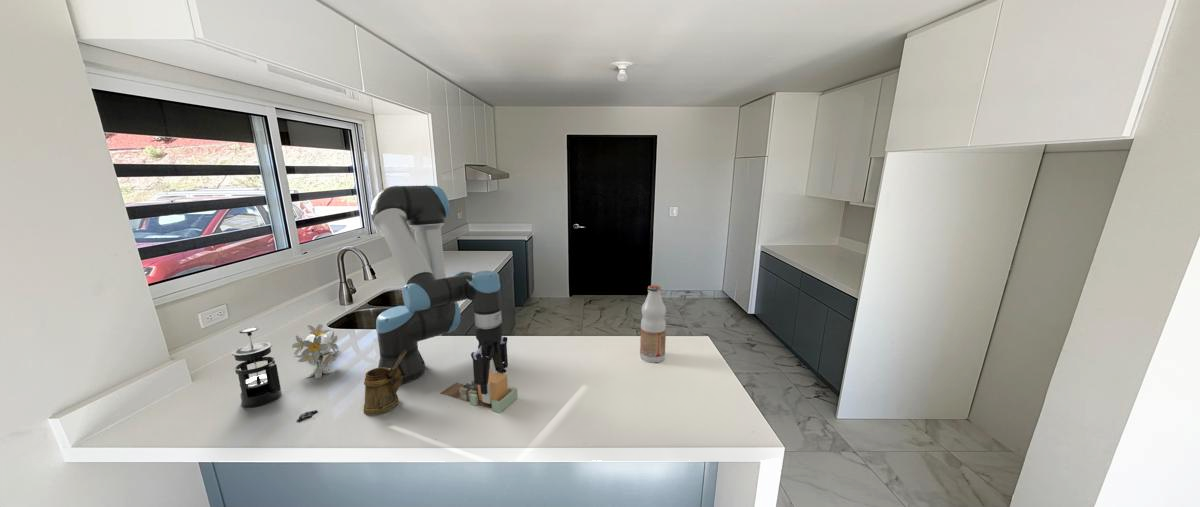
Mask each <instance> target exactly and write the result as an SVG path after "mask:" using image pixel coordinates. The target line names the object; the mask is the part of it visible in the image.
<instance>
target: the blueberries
mask: <svg viewBox="0 0 1200 507" xmlns="http://www.w3.org/2000/svg"><path fill="white" fill-rule="evenodd" d="M318 413H319V411H318V410H317V409H315V410H308V411H304V413H303V412H302V413H301V414H300V415H299V417H298V418H297V419H296V420H295V422H296V423H300V422H303V421H306V420H308V419H311V418H312V417H313V415H315V414H318ZM313 419H314V420H315V418H313Z"/></svg>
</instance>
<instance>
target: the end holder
mask: <svg viewBox="0 0 1200 507" xmlns="http://www.w3.org/2000/svg"><path fill="white" fill-rule="evenodd" d="M518 395H519V394H518V388H516V387H512V386H508V394H507V395H506V396H505V397H504V398H503V399H501V400H500V401H497V400H493V401H491V402H492V409H491V411H492V412H495V413H498V414H501V413H503V412H504V411H505V410H506V409H507V408H508V407H510V406H511V405H512V404H513V403H514V402H515V401H517V399H518V398H519V396H518ZM514 400H515V401H514ZM513 401H514V402H513ZM512 402H513V403H512ZM469 403H470V405H472V406H475V407H476V406H479V405H478V396H477V395H476V394H471V395H470V402H469ZM511 403H512V404H511ZM510 404H511V405H510ZM509 405H510V406H509ZM506 407H507V408H506ZM505 408H506V409H505ZM504 409H505V410H504ZM503 410H504V411H503ZM502 411H503V412H502Z"/></svg>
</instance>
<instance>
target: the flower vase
mask: <svg viewBox="0 0 1200 507" xmlns="http://www.w3.org/2000/svg"><path fill="white" fill-rule="evenodd" d="M307 328H308V330H309V335H308V336H306V338H305V339H304V340H303V338H302V337H300V336H299V334H296V335H295V340H296V342H295V343H293V344H292V346H291V348H292V349H293V350H295V351H294V353H293V358H298V360H297V362H298V363H304V362H307V361H308V363H309V364H310V365H312V366H316V368H314V370H312V371H311V372H310V373H309V374H307V375H306V376H305V379H308V378H310V377H311V378H312V377H313V376H314V378H315V379H321V377H322V376H323V374H332V373H333V371H332V370H330V367H327V366H328V362H329V363H333V362H336V360H337V358H336V355H337V354H338V353H339V352H340V349H339V346H338V344H337V343H336V342H337V341H338V335H335V331H334V330H333V331H332V330H329V329H324V325H323V324H318V325H316V327H314V326H313V325H311V324H310V325H307ZM303 349H304V350H303ZM302 350H303V351H302ZM331 350H332V351H333V352H330V351H331ZM301 351H302V352H301ZM300 352H301V354H300ZM299 354H300V355H299ZM321 356H322V357H323V358H322V360H320V359H319V358H320V357H321ZM319 363H320V364H319ZM321 366H322V367H321Z"/></svg>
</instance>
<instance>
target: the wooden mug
mask: <svg viewBox="0 0 1200 507" xmlns="http://www.w3.org/2000/svg"><path fill="white" fill-rule="evenodd" d="M406 353H407V351H406V349H405V350H404V351H403V352H402V353H401V355H400V356H399V357H398V358H397V360H396V361H395V363H394V364H393V365H392V367H391V368H386V367H380V368H378V367H375V368H372V369H370V370H368V371H367V372H366V373H365V377H364V381H363V385H364V404H363V413H364V414H365V415H367V416H377V415H382V414H384V413H388V412H390V411H391V410H393V409H394V408H396V406H398V403H399V397H398V396H399V395H398V394H397V392H398V390H399V388H400V386H401V385H402V384H401V382H402V375H401V372H400V370H399V369H398V368H397V366H398V365H399V363H400V362H401V360H402V359H403V357H404V356H405V354H406ZM393 377H394V378H395V379H396V382H395V383H394V384H393V383H392V378H393Z"/></svg>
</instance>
